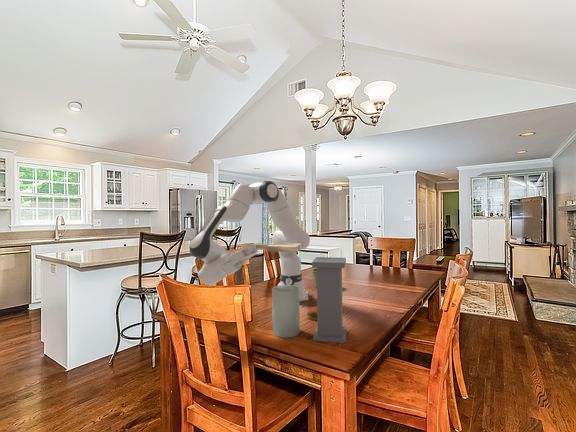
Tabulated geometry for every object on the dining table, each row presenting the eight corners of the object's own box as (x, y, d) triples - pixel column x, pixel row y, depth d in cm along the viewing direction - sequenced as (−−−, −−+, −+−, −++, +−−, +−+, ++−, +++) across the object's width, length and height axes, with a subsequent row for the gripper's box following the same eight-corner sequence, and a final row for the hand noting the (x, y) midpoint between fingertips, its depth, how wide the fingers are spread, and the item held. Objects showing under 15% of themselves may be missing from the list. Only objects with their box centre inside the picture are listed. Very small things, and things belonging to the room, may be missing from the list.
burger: (305, 320, 141) (305, 310, 141) (309, 313, 150) (309, 304, 150) (327, 322, 139) (327, 311, 139) (330, 315, 148) (330, 305, 148)
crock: (276, 326, 134) (276, 284, 134) (302, 328, 132) (301, 285, 132) (269, 336, 124) (268, 291, 123) (296, 338, 121) (296, 292, 121)
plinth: (317, 328, 131) (316, 257, 130) (346, 330, 128) (345, 257, 128) (313, 340, 119) (312, 262, 119) (345, 343, 116) (344, 262, 116)
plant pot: (309, 285, 204) (309, 268, 204) (327, 284, 207) (327, 267, 206) (314, 290, 193) (314, 272, 193) (333, 289, 195) (332, 271, 195)
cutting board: (248, 247, 137) (248, 242, 137) (302, 247, 132) (302, 243, 131) (237, 250, 125) (237, 245, 125) (296, 251, 120) (296, 246, 120)
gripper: (217, 259, 123) (245, 241, 120) (237, 251, 143) (262, 236, 140) (225, 273, 122) (253, 256, 119) (244, 264, 142) (269, 249, 139)
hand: (258, 245), depth 130 cm, fingers closed on cutting board, 4 cm apart
